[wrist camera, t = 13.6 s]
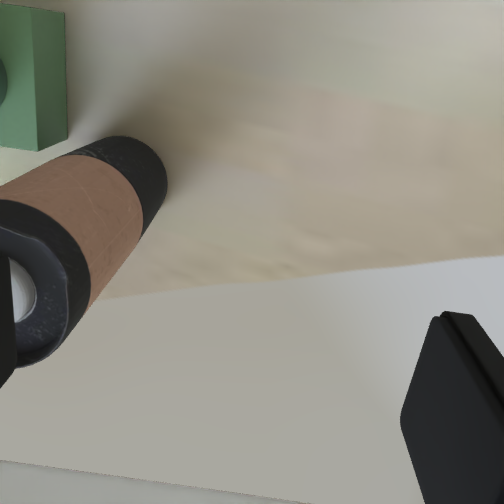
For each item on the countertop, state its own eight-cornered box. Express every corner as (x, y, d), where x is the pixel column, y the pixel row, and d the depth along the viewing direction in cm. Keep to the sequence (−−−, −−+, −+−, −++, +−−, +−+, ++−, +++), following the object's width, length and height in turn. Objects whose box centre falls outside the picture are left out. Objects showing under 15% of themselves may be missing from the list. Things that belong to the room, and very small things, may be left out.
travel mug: (73, 210, 40) (-103, 350, 22) (83, 120, 37) (-112, 192, 19) (162, 233, 40) (64, 389, 22) (179, 146, 37) (81, 241, 19)
